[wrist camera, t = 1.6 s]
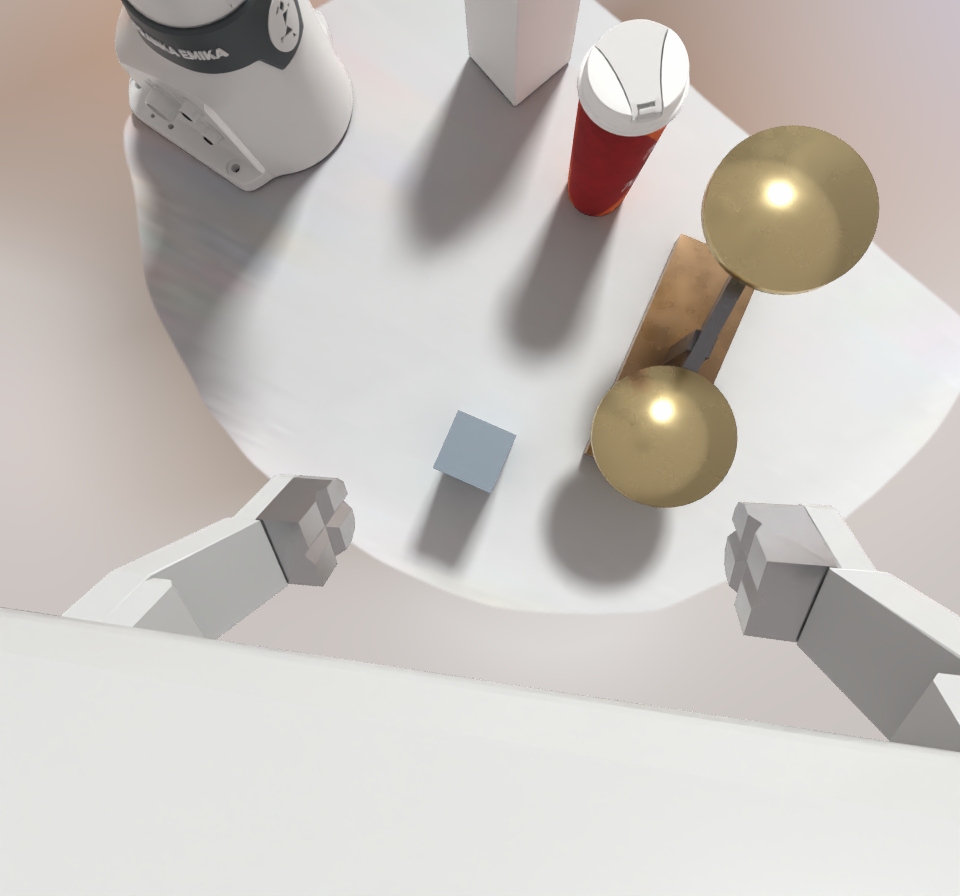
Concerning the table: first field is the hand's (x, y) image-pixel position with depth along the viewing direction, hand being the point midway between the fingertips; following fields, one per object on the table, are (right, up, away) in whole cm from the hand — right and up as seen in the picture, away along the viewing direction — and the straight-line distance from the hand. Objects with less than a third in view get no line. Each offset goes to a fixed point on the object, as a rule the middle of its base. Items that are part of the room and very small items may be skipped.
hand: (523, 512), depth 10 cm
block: (-1, +1, +35) cm, 35 cm away
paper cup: (+10, +26, +36) cm, 46 cm away
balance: (+17, +9, +35) cm, 40 cm away
